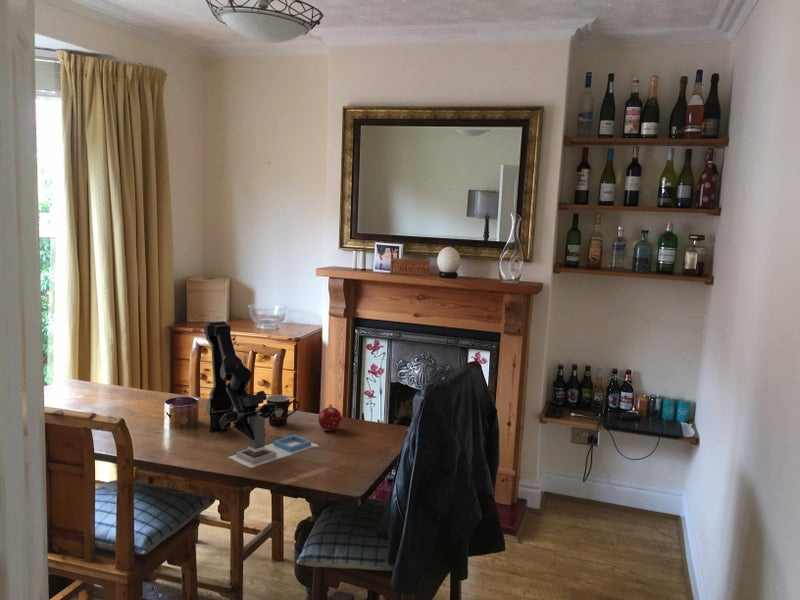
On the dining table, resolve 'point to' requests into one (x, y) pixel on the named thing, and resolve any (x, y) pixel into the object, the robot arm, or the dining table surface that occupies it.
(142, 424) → the dining table surface
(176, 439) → the dining table surface
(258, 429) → the plug
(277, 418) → the coffee mug
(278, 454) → the board
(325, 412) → the christmas ornament
